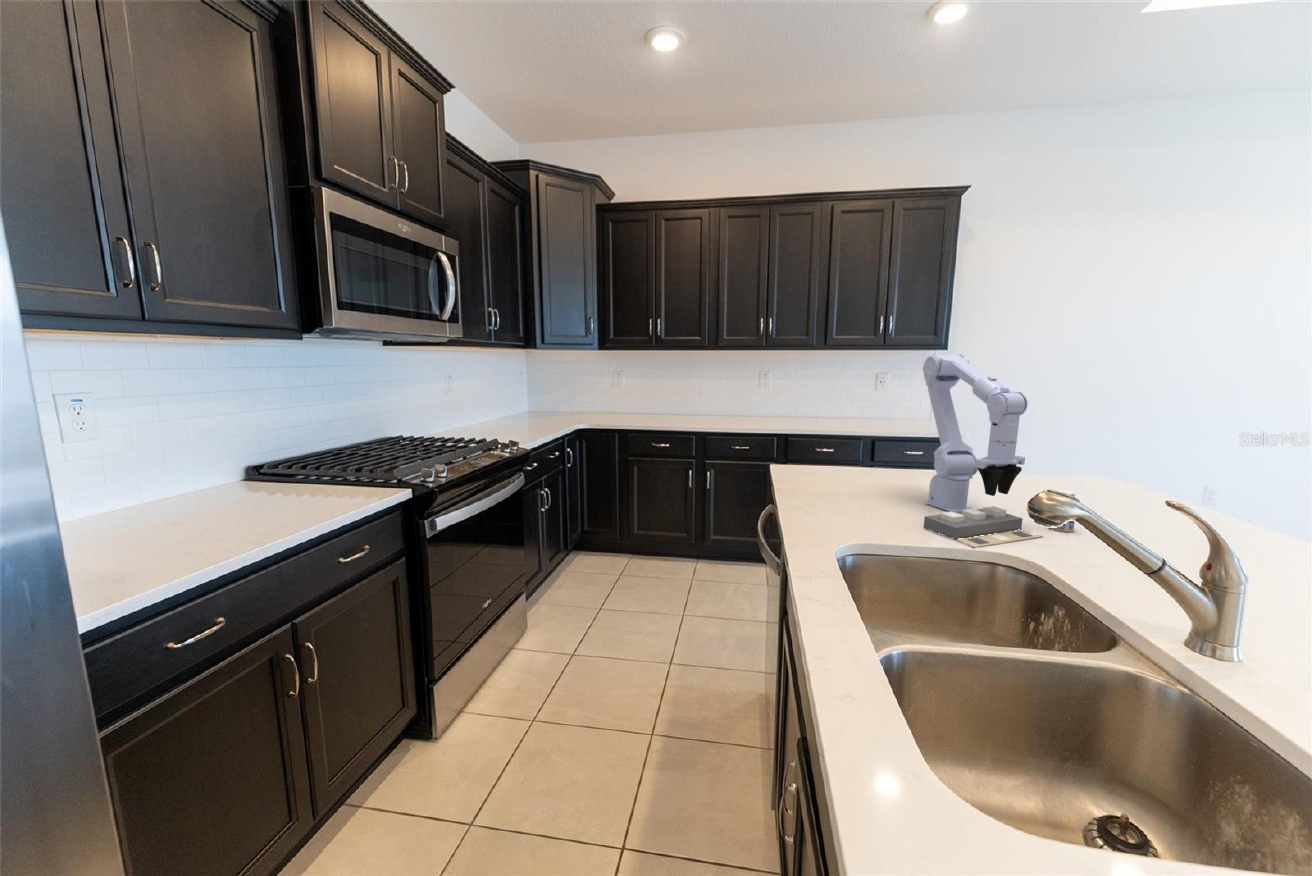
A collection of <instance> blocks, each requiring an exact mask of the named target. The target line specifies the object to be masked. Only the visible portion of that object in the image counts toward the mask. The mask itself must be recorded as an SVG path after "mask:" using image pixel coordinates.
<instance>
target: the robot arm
mask: <svg viewBox="0 0 1312 876" xmlns="http://www.w3.org/2000/svg"><path fill="white" fill-rule="evenodd" d="M922 371H923V377H924V381H925V385H926V386H927V391H928V396H929V399H930V405H931V409H932V413H933V416H934V417H933V418H934V421H935V425H936V428H937V429H936V431H937V434H938V439H939V442H940V446H939V447H938V448H936V449H935V451H934V452H933V458H934V463H933V468H934V470H935V473H936V474H934V475H933V476H932V477H931V479H930V482H929V490H928V497H927V499H928V500H927V501H926V502H925V504H927V505H929V506H932V507H935V508H938V509H941V510H943V511H945V512H962V510H968V509H975V508H974V507H971V506H969V505H968V499H969V498H968V496H969V488H970V480H971V479H973V476H974V475H976V474H977V473H978V472H979V474H980V476H981V479H982V483H983V487H984V492H985V495H987V496H991V497H994V496H996V493H997V492H998V493H999V494H1003V495H1008V494H1009V492H1010V490H1011V487H1012V485H1013V484H1014V481H1015V479H1016V478H1017V476H1018V475H1019V474H1020V473H1021V472H1022V469H1023V468H1022V465H1023V466H1024V465H1025V461H1026V457H1025V456H1021V455H1016V451H1017V450H1016V449H1017V441H1018V435H1019V426H1020V425H1019V424H1020V418H1021V417H1020V416H1022V415H1024V413H1025V412H1026V410H1027V408H1028V400H1027V397H1026V396H1025V395H1024V393H1023V392H1022V391H1014V392H1013V391H1012V390H1010V388H1009V387H1008V386H1004V385H1003V384H1002V383H1000V381H998V378H997V377H996V376H989V375H988V376H983V375H982V374H981V373H980V372H979V371H978V370H977V369H976V368H975V367H974V366H972V365H971V363H970V359H969V358H967V357H965V356H964V355H963V354H930V355H928V356H927V357H926V359H925V361H924V363H923V366H922ZM960 380H962V381H963V382H964V383H966V384H968V385H969V386H970V387H972V388H971V390H972V394H974V396H976V398H978V399H979V400H980V401H982V402H983V403H984V404H986V409H987V412H988V413H989V414H988V415H989V416H988V417H989V418H988V420H989V421H990V429H989V439H988V448H987V456H984V457H982V458H977V456H976V455H975V453H974V451H973V448H972V447H971V446H970V445H968V444H967V443H965V442H964V441H963V439H962V434H961V430H960V427H959V421H958V418H957V414H956V411H955V406H954V402H953V398H952V394H951V389H952V388H953V387H955V386H956V385H957V384H958V383H959V381H960ZM1018 465H1021V466H1018Z"/></svg>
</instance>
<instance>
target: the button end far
mask: <svg viewBox="0 0 1312 876" xmlns="http://www.w3.org/2000/svg"><path fill="white" fill-rule="evenodd" d="M982 509H983V512H984V513H986V515H988V516H991V517H994V518H1000V517H1006V513H1007V509H1004V508H1001V507H998V506H985V507H982Z"/></svg>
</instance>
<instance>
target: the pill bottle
mask: <svg viewBox="0 0 1312 876" xmlns="http://www.w3.org/2000/svg"><path fill="white" fill-rule="evenodd" d="M1056 490H1057V491H1059V492H1065V493H1067V494H1070V495H1071V496H1073V497H1074V498H1075V497H1076V493H1075V492H1074V491H1071V490H1068V489H1066V490H1065V489H1056ZM1075 523H1076V521H1075V522H1074V521H1068V522H1067V523H1066V524H1063V525H1062V526H1060V527H1057V528H1051V529H1050V530H1052V531H1055V530H1056V531H1057V532H1063V533H1071V532H1073V531H1074V529H1075ZM1056 531H1055V532H1056Z"/></svg>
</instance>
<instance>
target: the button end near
mask: <svg viewBox="0 0 1312 876" xmlns="http://www.w3.org/2000/svg"><path fill="white" fill-rule="evenodd" d="M940 514H941V517H940V519H941V520H943V521H946V522H949V523H951V524H957V523H964V517H965V516H964V515H961V514H958V513H955V512H949V511H945V512H940Z"/></svg>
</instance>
